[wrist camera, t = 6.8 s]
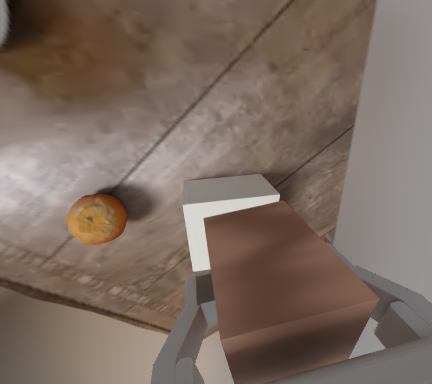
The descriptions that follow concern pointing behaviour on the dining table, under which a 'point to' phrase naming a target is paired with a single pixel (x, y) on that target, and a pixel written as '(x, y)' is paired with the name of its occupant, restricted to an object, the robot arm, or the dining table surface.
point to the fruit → (97, 218)
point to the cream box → (219, 206)
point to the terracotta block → (281, 294)
